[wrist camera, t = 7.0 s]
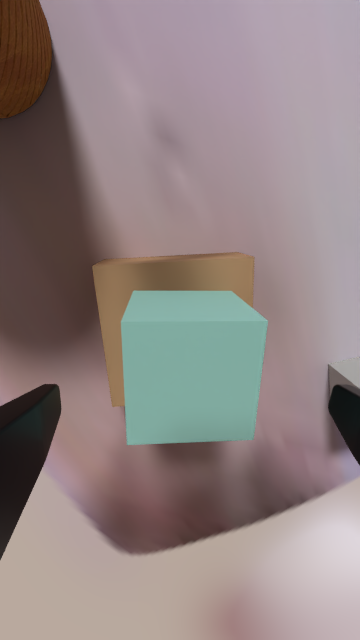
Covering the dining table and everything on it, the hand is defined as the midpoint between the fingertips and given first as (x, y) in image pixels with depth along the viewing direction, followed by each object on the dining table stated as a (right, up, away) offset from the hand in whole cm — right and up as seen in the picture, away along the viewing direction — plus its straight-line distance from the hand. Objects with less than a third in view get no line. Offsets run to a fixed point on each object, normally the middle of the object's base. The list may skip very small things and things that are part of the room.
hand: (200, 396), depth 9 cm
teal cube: (-1, +2, +6) cm, 6 cm away
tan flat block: (-1, +3, +9) cm, 10 cm away
